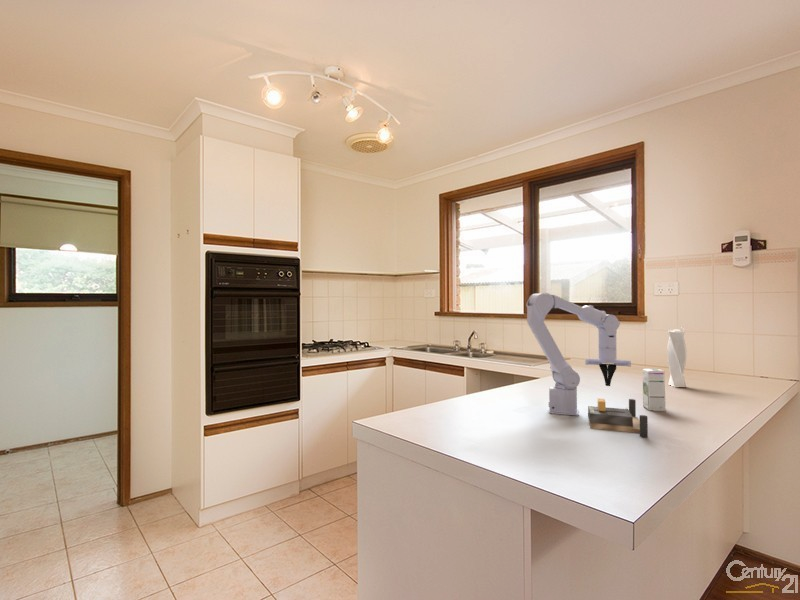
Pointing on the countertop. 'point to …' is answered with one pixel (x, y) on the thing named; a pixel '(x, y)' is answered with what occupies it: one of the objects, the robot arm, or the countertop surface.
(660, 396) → the syrup box
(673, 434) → the countertop surface
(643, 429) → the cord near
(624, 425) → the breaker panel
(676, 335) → the skyscraper
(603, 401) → the orange cuboid
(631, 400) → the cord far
